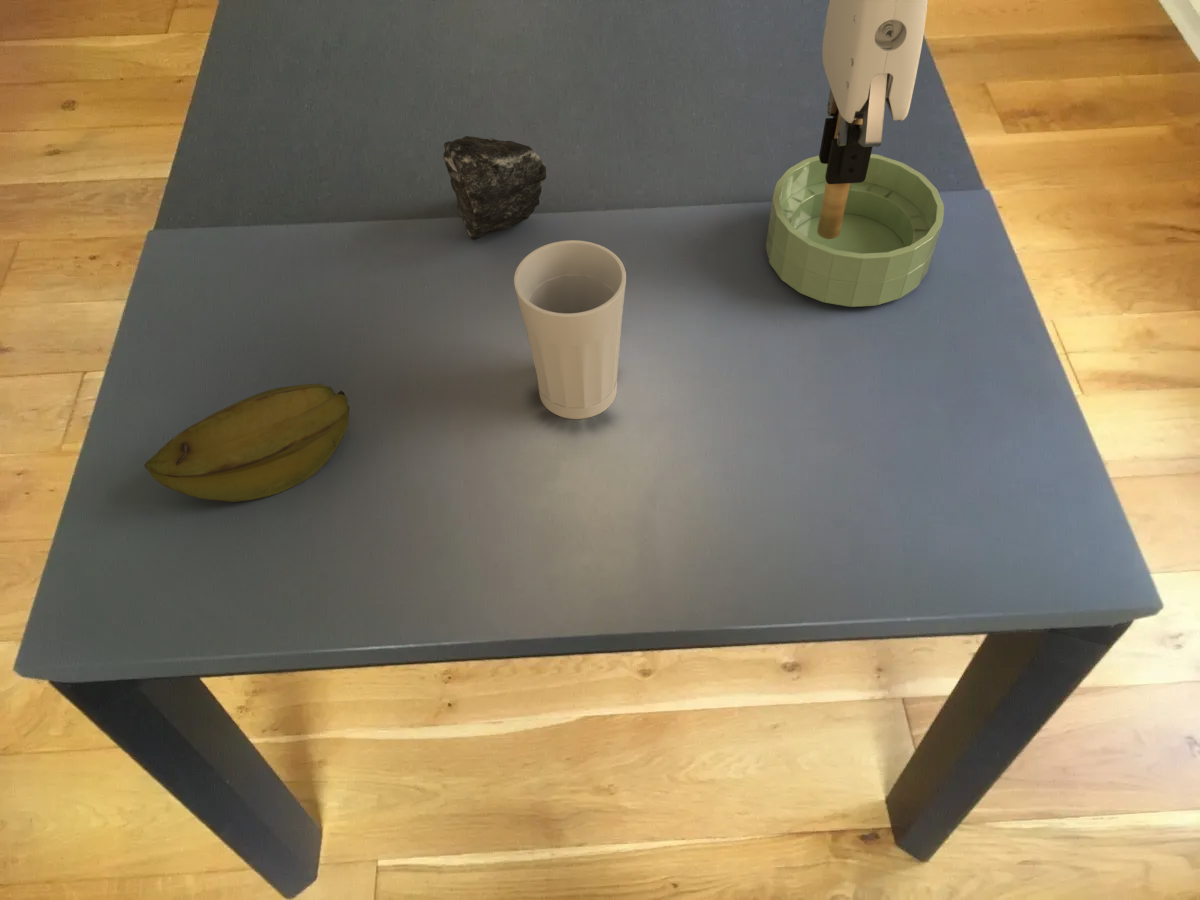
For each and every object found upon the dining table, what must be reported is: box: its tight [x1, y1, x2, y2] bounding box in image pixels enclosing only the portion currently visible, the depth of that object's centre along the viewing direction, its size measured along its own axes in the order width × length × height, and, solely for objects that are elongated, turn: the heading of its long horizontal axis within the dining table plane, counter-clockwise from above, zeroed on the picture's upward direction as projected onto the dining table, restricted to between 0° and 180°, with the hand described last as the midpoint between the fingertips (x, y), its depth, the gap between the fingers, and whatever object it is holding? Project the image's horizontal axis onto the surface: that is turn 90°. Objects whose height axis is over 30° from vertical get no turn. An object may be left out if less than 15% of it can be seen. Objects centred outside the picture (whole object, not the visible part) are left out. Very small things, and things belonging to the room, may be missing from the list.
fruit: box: [143, 383, 350, 503], centre depth 72 cm, size 11×12×7 cm
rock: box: [442, 135, 547, 241], centre depth 87 cm, size 8×7×10 cm
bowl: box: [765, 153, 945, 308], centre depth 85 cm, size 14×14×6 cm
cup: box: [513, 239, 627, 420], centre depth 74 cm, size 8×8×12 cm
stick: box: [817, 112, 863, 239], centre depth 81 cm, size 2×2×12 cm
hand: (841, 169), depth 81 cm, fingers closed on stick, 2 cm apart
